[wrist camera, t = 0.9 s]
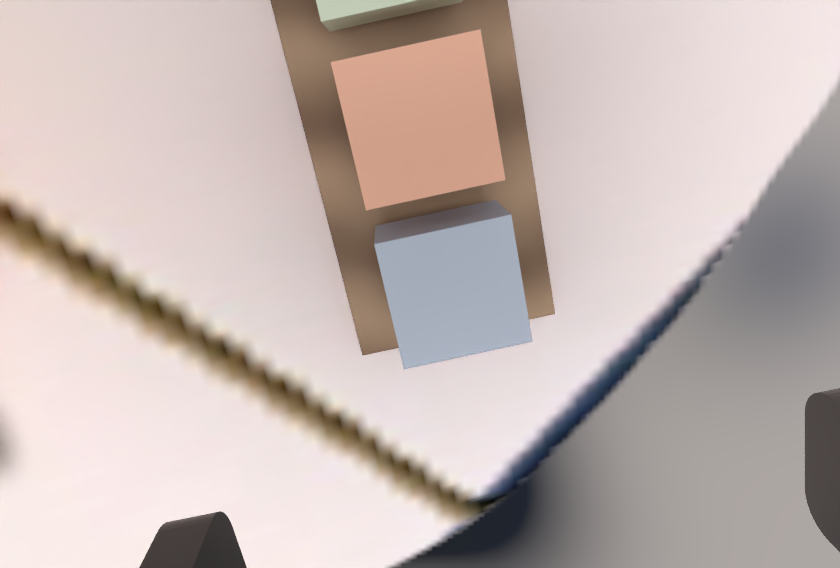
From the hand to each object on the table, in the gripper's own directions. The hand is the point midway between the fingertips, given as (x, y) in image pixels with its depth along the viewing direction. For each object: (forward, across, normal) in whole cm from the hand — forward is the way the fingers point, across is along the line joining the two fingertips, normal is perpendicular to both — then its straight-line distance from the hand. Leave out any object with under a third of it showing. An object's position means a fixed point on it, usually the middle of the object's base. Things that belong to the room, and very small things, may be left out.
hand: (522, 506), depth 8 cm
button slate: (+23, -1, +3) cm, 23 cm away
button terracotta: (+23, -1, -4) cm, 23 cm away
